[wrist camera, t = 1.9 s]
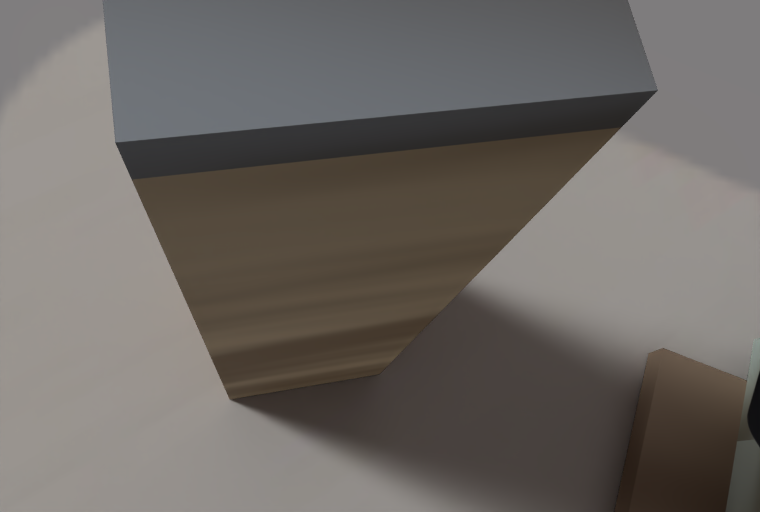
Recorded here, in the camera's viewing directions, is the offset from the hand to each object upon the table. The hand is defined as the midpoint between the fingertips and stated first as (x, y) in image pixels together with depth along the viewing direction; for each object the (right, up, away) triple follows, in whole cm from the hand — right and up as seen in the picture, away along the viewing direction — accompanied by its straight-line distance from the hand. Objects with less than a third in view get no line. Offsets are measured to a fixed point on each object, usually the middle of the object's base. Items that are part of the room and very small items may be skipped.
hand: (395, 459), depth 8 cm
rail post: (-3, +1, +12) cm, 12 cm away
